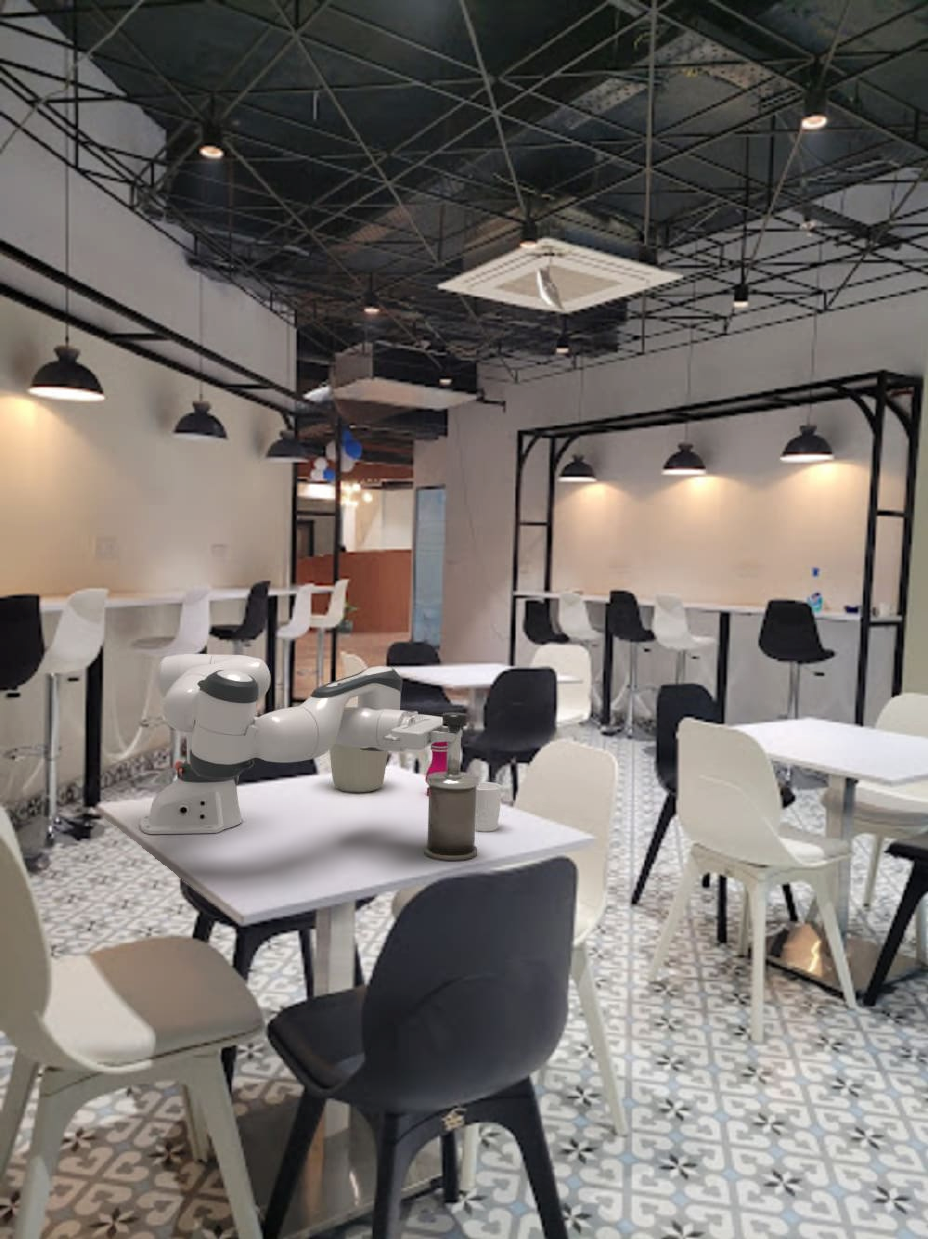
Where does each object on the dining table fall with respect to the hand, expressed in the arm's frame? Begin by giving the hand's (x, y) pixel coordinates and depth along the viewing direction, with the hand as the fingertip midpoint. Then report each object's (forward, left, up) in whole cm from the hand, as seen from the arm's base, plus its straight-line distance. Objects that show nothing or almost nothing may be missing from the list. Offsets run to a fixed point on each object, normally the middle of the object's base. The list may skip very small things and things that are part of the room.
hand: (458, 735), depth 190 cm
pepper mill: (+13, +49, -25) cm, 56 cm away
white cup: (+13, +17, -25) cm, 33 cm away
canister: (-6, +61, -25) cm, 66 cm away
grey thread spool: (-1, +1, -25) cm, 25 cm away
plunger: (-1, +1, -8) cm, 8 cm away
